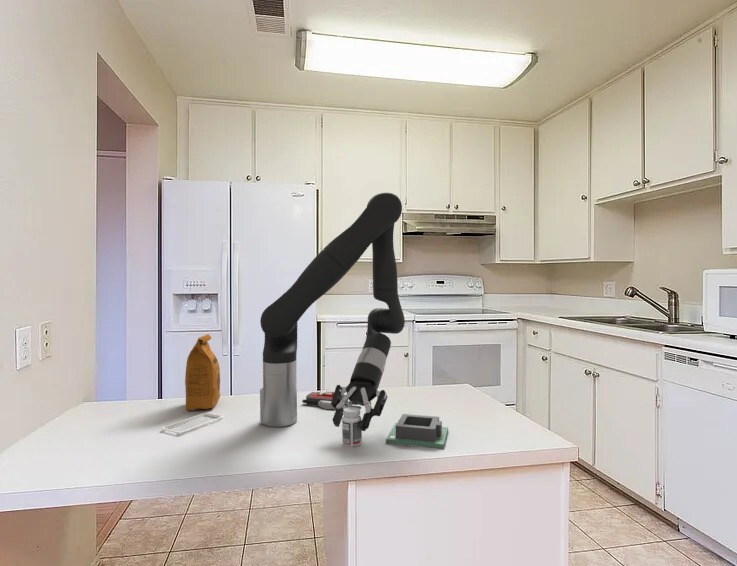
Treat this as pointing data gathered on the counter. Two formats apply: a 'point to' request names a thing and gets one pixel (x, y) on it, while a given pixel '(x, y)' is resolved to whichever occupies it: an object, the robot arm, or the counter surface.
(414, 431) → the socket board
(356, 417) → the pill bottle
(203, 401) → the coffee package
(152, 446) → the counter surface
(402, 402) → the counter surface
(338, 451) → the counter surface
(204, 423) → the phone case
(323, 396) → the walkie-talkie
